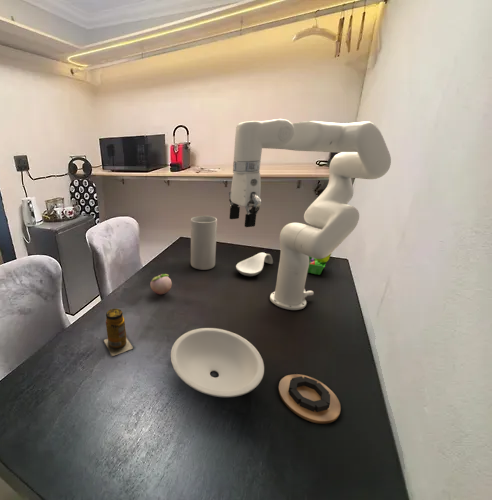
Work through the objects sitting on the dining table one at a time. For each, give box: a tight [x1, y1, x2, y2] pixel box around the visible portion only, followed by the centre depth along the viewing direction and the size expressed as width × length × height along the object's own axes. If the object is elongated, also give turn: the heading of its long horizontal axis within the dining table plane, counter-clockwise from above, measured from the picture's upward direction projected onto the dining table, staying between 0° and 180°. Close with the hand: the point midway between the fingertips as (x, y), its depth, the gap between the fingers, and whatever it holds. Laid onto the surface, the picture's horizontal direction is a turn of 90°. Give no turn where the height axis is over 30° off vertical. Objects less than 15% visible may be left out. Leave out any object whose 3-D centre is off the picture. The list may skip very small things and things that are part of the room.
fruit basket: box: [307, 253, 332, 276], centre depth 123 cm, size 11×9×11 cm
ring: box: [288, 376, 330, 412], centre depth 64 cm, size 8×8×2 cm
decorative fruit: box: [150, 273, 173, 295], centre depth 112 cm, size 9×8×10 cm
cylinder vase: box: [190, 215, 218, 271], centre depth 134 cm, size 12×12×25 cm
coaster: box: [277, 373, 342, 425], centre depth 65 cm, size 13×13×1 cm
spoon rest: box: [235, 252, 274, 277], centre depth 128 cm, size 24×12×7 cm, turn 128°
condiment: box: [103, 308, 134, 357], centre depth 84 cm, size 7×8×12 cm
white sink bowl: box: [170, 327, 265, 398], centre depth 72 cm, size 24×24×7 cm
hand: (241, 222), depth 85 cm, fingers open, 9 cm apart
